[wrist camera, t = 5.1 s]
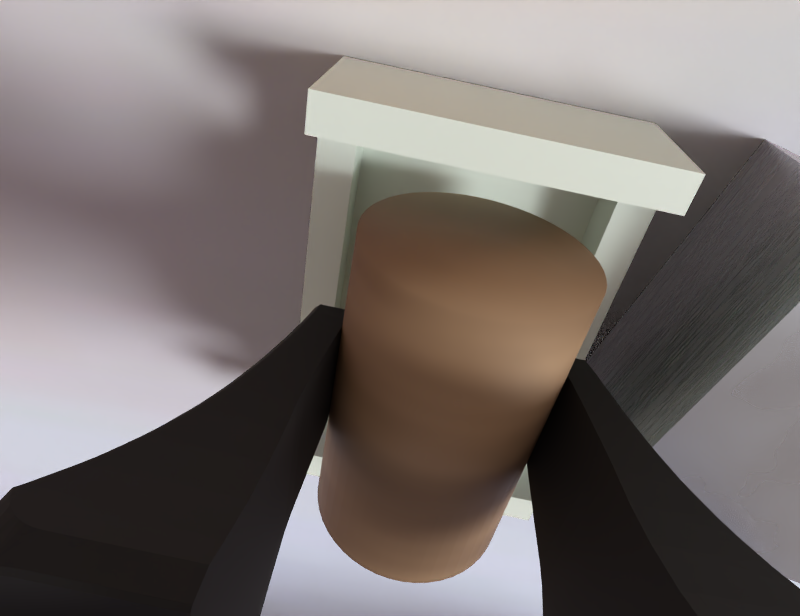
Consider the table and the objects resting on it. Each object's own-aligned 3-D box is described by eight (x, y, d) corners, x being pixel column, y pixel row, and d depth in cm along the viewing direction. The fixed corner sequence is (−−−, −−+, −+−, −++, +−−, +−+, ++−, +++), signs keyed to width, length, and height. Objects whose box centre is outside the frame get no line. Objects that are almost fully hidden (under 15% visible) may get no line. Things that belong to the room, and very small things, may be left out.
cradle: (520, 434, 18) (528, 520, 15) (305, 389, 18) (276, 467, 15) (655, 123, 12) (706, 174, 10) (343, 55, 12) (308, 88, 10)
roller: (489, 443, 16) (502, 598, 12) (334, 414, 15) (299, 564, 12) (579, 216, 12) (638, 347, 8) (372, 175, 12) (336, 289, 8)
